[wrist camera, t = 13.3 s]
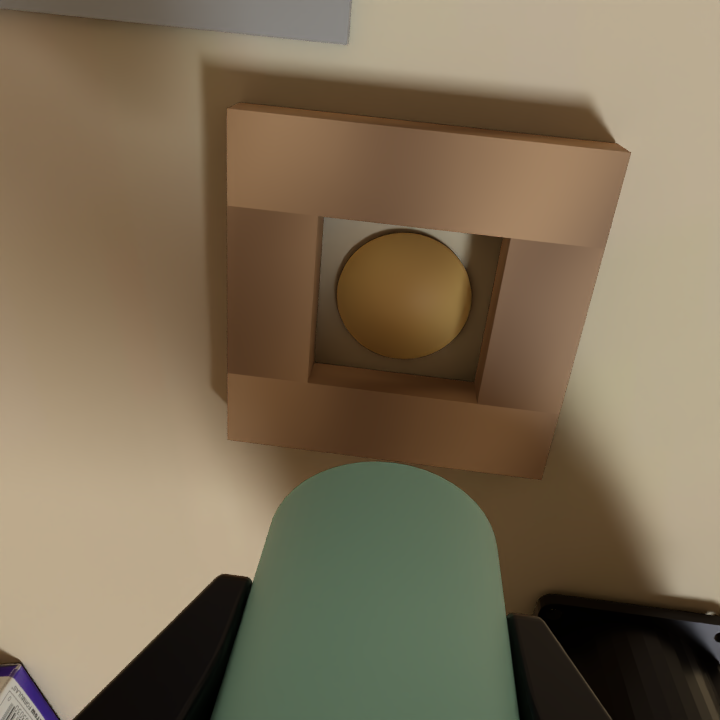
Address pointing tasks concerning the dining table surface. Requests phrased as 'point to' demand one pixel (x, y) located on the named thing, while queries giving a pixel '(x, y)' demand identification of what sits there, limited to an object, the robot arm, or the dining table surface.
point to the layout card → (215, 15)
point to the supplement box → (21, 696)
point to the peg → (374, 606)
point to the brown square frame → (409, 282)
